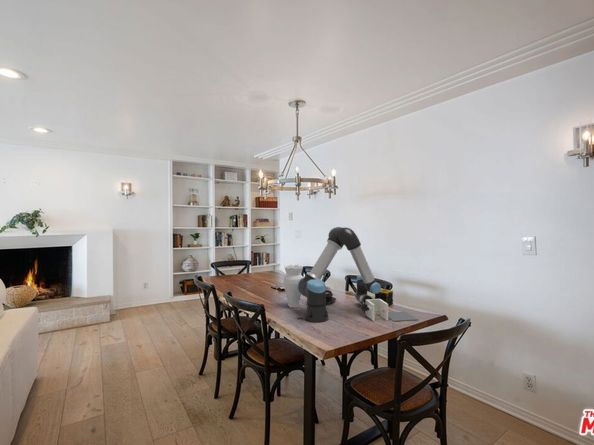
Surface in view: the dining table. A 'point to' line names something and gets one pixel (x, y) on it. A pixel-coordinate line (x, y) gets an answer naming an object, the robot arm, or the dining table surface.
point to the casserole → (329, 297)
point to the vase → (292, 284)
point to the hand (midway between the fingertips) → (379, 310)
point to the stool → (377, 308)
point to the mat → (401, 316)
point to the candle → (385, 296)
